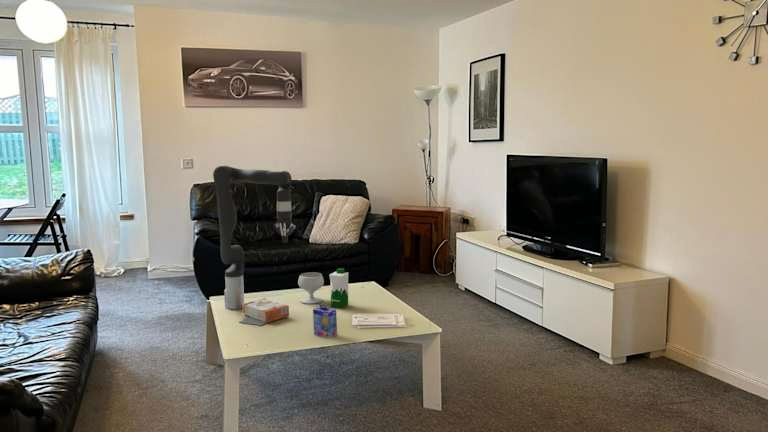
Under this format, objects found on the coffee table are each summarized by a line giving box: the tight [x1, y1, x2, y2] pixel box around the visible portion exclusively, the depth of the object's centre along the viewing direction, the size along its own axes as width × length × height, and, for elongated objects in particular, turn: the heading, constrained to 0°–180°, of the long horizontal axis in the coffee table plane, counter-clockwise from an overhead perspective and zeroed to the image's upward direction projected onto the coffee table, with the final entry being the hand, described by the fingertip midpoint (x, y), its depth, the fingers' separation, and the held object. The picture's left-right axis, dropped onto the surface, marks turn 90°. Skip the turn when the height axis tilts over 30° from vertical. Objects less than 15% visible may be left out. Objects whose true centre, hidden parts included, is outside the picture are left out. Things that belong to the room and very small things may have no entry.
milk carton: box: [328, 267, 349, 310], centre depth 304 cm, size 9×9×20 cm
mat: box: [238, 316, 270, 327], centre depth 285 cm, size 13×18×1 cm
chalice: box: [297, 271, 325, 305], centre depth 314 cm, size 14×14×15 cm
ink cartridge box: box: [312, 304, 338, 339], centre depth 260 cm, size 10×6×14 cm, turn 58°
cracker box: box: [242, 297, 290, 323], centre depth 289 cm, size 14×6×21 cm
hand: (285, 242), depth 300 cm, fingers closed
